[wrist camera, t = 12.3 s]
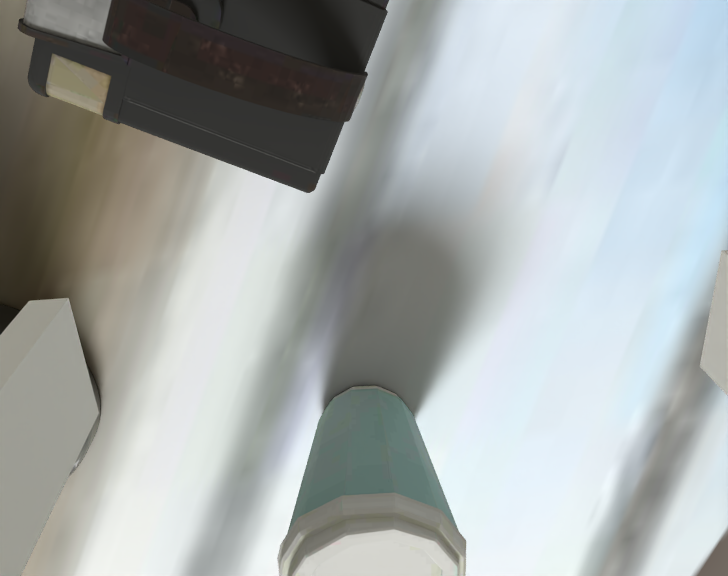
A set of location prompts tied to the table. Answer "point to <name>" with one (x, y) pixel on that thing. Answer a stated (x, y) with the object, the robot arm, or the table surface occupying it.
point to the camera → (213, 72)
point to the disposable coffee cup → (370, 497)
